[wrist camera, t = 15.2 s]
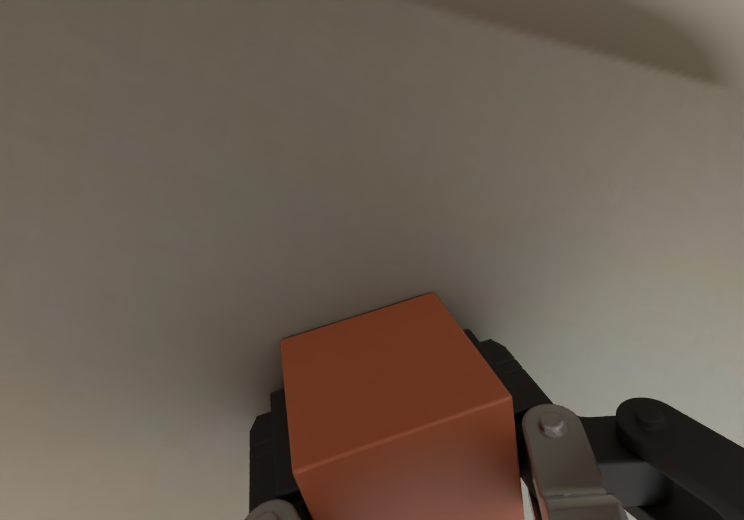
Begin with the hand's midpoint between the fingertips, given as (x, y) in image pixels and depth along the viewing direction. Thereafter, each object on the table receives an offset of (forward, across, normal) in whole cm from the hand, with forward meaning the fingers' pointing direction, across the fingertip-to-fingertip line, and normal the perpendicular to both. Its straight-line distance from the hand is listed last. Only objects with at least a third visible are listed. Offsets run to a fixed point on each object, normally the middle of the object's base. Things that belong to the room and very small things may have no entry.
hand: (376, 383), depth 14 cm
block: (0, 0, 0) cm, 0 cm away
